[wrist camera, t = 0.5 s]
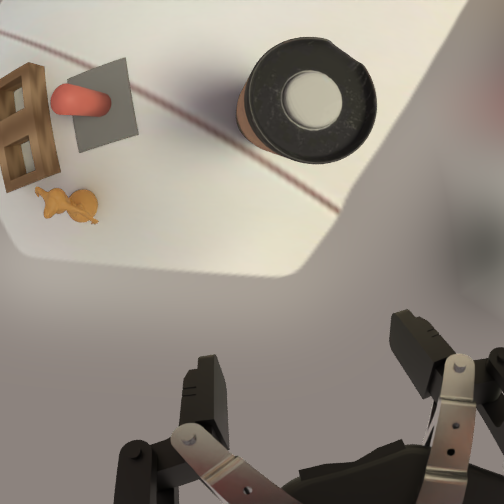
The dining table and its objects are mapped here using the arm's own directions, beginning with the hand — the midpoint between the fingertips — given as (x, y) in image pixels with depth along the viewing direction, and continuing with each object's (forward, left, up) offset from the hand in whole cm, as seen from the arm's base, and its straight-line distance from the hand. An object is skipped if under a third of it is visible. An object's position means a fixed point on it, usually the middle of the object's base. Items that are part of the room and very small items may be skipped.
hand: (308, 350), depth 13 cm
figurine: (-6, -20, -27) cm, 33 cm away
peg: (-16, -16, -26) cm, 34 cm away
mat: (-16, -16, -26) cm, 35 cm away
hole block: (-17, -27, -26) cm, 41 cm away
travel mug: (-10, +3, -27) cm, 29 cm away
